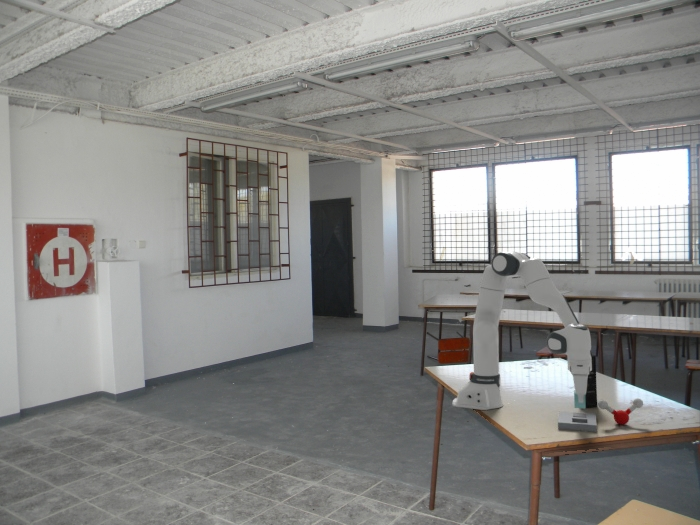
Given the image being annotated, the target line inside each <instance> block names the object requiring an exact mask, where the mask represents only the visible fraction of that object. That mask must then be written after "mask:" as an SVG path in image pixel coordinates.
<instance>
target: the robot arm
mask: <svg viewBox="0 0 700 525" xmlns="http://www.w3.org/2000/svg"><path fill="white" fill-rule="evenodd" d="M519 278H521V279H522V281H523V284H524V286H525V290H526V292H527V295H528V296H529V298H530V300H531V301H532V302H534V303H535V304H538V305H540V306H544V307H547V308H550V309H551V310H552V311H554V312H555V313H556V314H557V316H558V317H559V319H560V321H561V323H562V325H563V326H564V328H561V329H559V330H555V331H551V332H550V333H549V334H548V335H547V337H546V347H547V349H548V351H550V353H552V354H553V355H557V356H558V355H560V356H561V355H566V356H567V370H568V371H569V372H570V374H571V376H572V378H573V385H574V390H575V392H576V394H577V395H578V402H579V403H583V397H584V395H586V390H587V378H588V375H589V372H590V371H592V359H591V355H590V350H591V351H592V338H591V332H590V329H589V328H588V326H587V325H585V324H581V323H580V322H579V320H578V318H577V316H576V315H575V313H574V310H573V308H572V307H571V305H570V304H569V302H568V300H567V298H566V297H565V296H564V295H563V293H561V291H560V290H558V288H557V287H556V284H555V283H554V281H553V279H552V277H551V275H550V272H549V271H548V269H547V266H546V264H544V262H543V261H542V259H540V258H537V257H533V258H532V257H531V256H530V255H528V254H526V253H523V252H522V253H521V252H517V251H500V252H498V253H496V254H495V255H494V256H493V257H492V258H491V264H489V265H487V266H486V267H485V268H484V270H483V273H482V276H481V281H480V283H479V284H480V285H479V290H478V297H477V303H476V308H475V315H474V319H473V326H472V343H473V344H472V346H473V348H472V350H473V371H471V372H470V373H469V376H468V377H469V381H468V382H467V383H465V384H464V385H463V386H462V387H460V388H459V389H458V392H457V397H455V398H453V400H452V404H451V405H452V406H453V407H457V408H466V409H472V410H473V409H474V410H481V411H487V410H492V409H493V410H494V409H498V408H501V407H503V406H504V403H503V399H502V395H501V389H500V388H501V374H500V373H499V370H500V368H499V363H500V362H499V360H500V359H499V355H500V354H499V352H500V351H499V348H500V347H499V337H500V336H499V333H500V332H499V324H500V319H501V313H502V311H503V310H502V309H503V304H504V299H505V292H506V285H507V281H509V279H519Z"/></svg>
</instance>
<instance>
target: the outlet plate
mask: <svg viewBox="0 0 700 525" xmlns="http://www.w3.org/2000/svg"><path fill="white" fill-rule="evenodd" d="M557 417H558V420H557V429H559V430H570V431H580V430H581V431H582V432H595V433H598V423H597V417H596V413H592V412H576V411H562V410H560V411H558V416H557Z"/></svg>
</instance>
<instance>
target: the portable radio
mask: <svg viewBox="0 0 700 525" xmlns="http://www.w3.org/2000/svg"><path fill="white" fill-rule="evenodd" d="M590 355H591V359H592V371H590V372H589V375H588V378H587V390H586V395H585V404H586V409H588V408H596V407H598V390H597V389H598V388H597V358H596V355H595V354H592V349H591V350H590Z"/></svg>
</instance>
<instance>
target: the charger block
mask: <svg viewBox="0 0 700 525" xmlns="http://www.w3.org/2000/svg"><path fill="white" fill-rule="evenodd" d="M573 392H574V393H573V394H574V401H573V402H574V408H575V409H587V408H586V404H585V395H584V397H583V403H579V402H578V395H577V394H576V392H575V389H574V391H573Z"/></svg>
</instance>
